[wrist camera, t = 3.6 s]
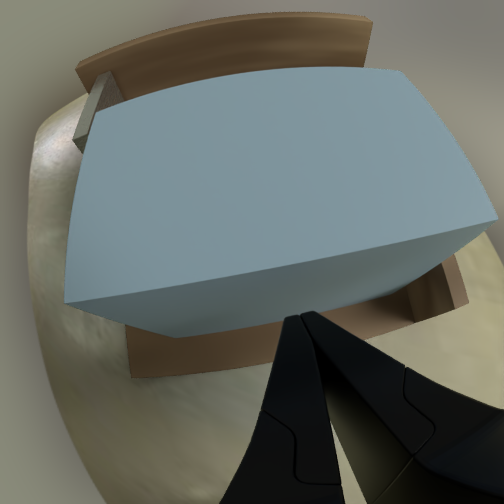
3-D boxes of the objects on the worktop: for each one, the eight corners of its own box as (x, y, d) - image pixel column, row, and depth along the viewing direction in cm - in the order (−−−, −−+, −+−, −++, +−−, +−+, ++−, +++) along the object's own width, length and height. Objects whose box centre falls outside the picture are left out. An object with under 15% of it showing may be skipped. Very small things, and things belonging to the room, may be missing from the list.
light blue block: (392, 293, 14) (498, 219, 6) (174, 338, 14) (62, 303, 5) (355, 188, 17) (400, 70, 8) (165, 221, 16) (94, 112, 8)
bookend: (151, 221, 17) (87, 133, 9) (123, 228, 16) (51, 149, 9) (152, 156, 19) (110, 70, 11) (128, 163, 19) (80, 83, 11)
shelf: (423, 319, 14) (545, 266, 5) (135, 377, 14) (3, 378, 5) (343, 120, 20) (365, 16, 11) (132, 156, 20) (79, 61, 11)
